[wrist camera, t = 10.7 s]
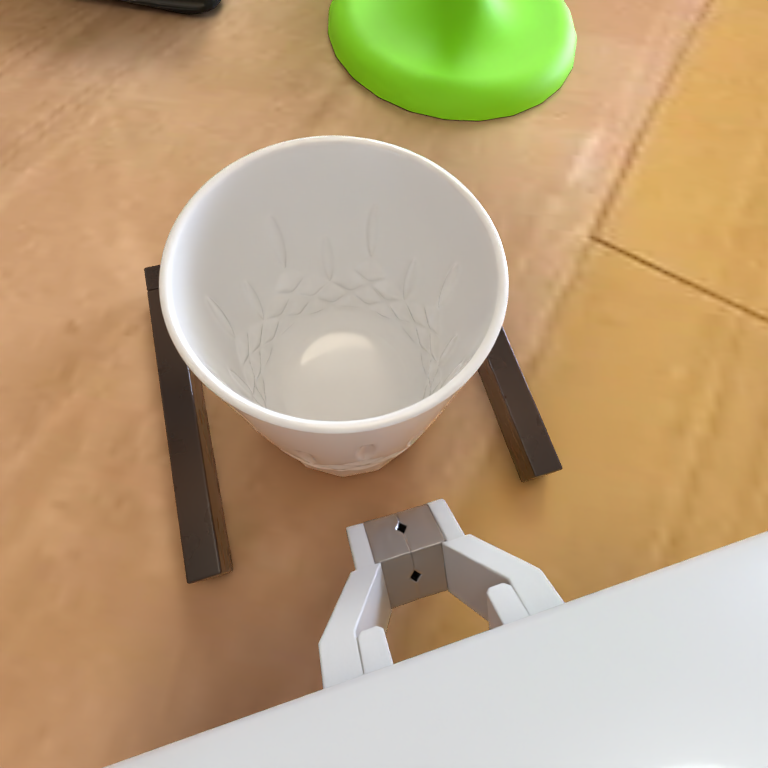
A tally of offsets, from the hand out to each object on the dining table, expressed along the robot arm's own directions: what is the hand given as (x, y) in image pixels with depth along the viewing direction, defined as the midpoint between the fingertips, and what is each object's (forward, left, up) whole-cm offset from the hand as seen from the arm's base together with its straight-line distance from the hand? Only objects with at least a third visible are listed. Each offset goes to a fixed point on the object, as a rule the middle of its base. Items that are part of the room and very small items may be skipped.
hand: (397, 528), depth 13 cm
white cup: (-4, -4, -5) cm, 8 cm away
